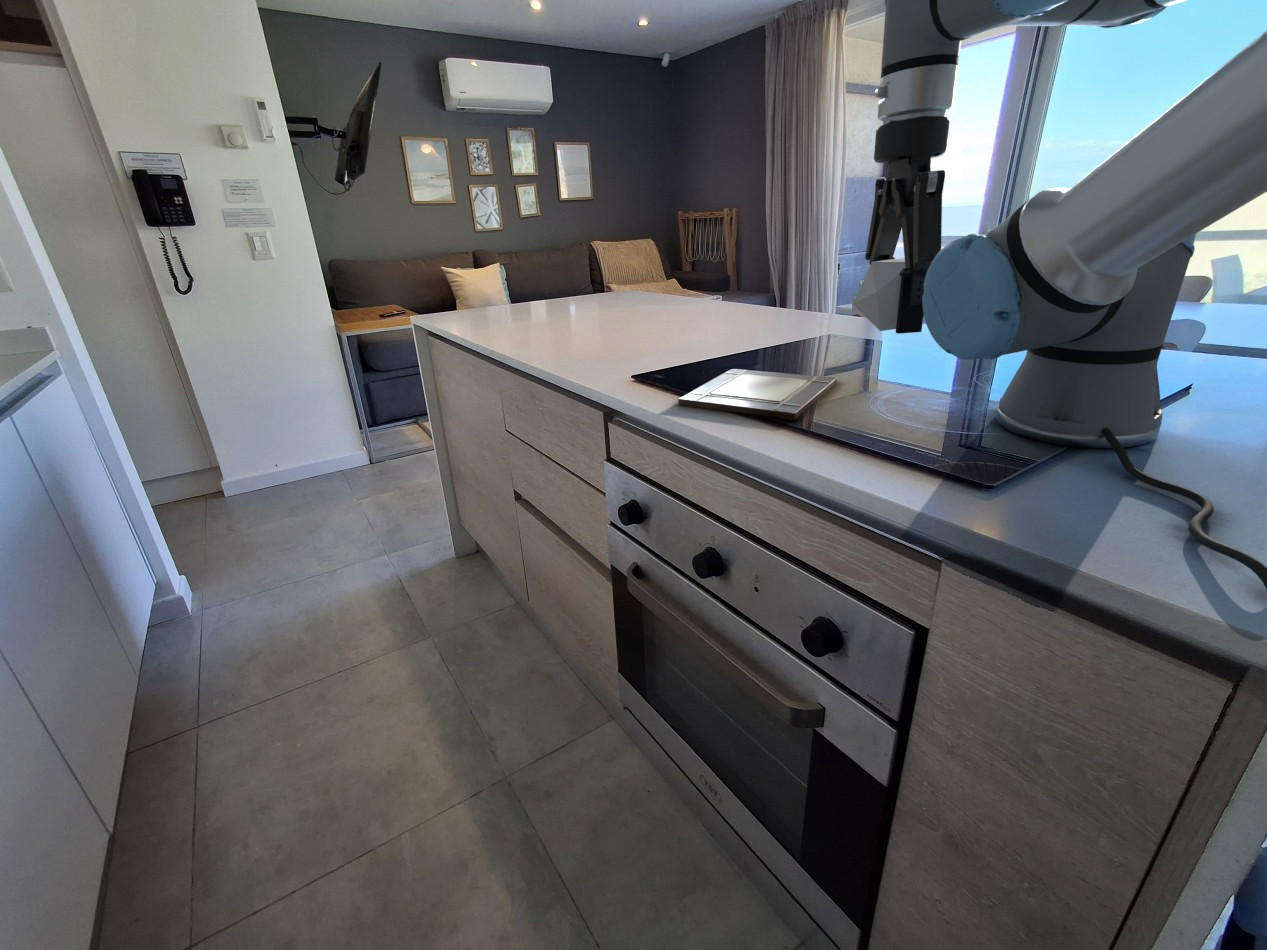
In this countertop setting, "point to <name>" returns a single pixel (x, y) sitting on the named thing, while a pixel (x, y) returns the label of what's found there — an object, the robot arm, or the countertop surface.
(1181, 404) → the countertop surface
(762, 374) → the board
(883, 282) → the die
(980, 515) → the countertop surface
